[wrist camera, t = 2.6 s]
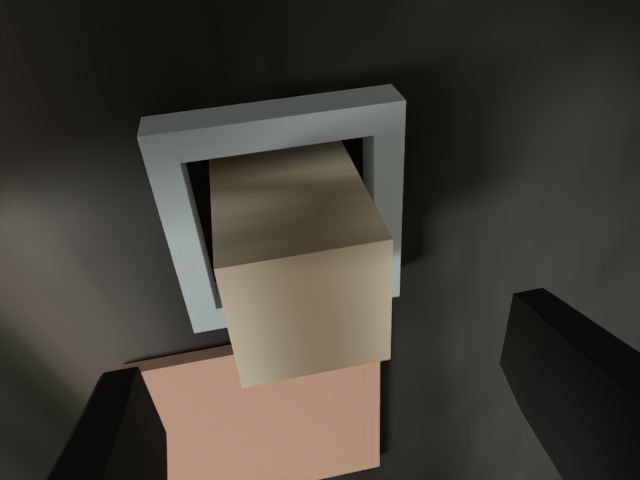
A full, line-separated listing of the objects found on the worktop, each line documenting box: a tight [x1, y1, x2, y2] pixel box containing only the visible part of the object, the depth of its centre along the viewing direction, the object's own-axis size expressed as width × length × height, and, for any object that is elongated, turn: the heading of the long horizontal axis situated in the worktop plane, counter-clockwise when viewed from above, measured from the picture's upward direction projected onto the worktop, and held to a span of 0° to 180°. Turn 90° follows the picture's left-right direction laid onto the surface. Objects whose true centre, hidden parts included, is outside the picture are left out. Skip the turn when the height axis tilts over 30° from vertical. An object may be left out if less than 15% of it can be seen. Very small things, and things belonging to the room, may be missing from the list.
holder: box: [137, 84, 406, 333], centre depth 18 cm, size 8×8×2 cm
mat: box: [122, 344, 380, 480], centre depth 26 cm, size 11×11×1 cm
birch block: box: [209, 140, 393, 388], centre depth 17 cm, size 4×4×6 cm
